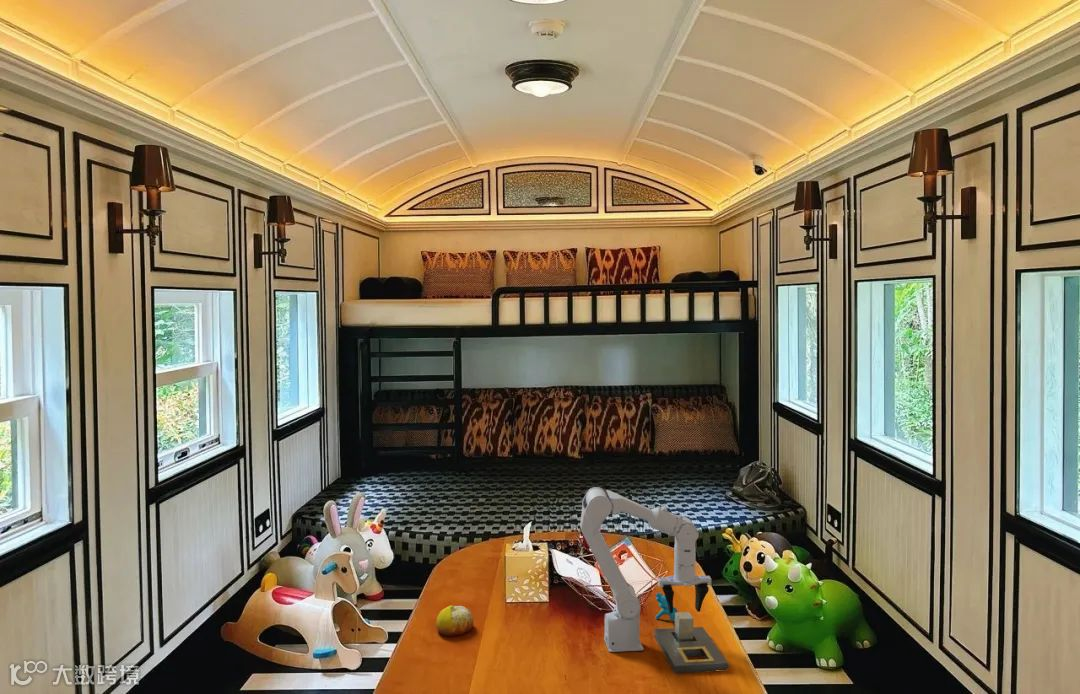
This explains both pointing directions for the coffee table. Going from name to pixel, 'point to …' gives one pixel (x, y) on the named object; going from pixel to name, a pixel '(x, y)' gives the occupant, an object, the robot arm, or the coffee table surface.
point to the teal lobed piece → (664, 607)
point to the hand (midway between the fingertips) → (684, 610)
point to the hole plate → (690, 651)
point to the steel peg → (683, 627)
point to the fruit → (454, 621)
